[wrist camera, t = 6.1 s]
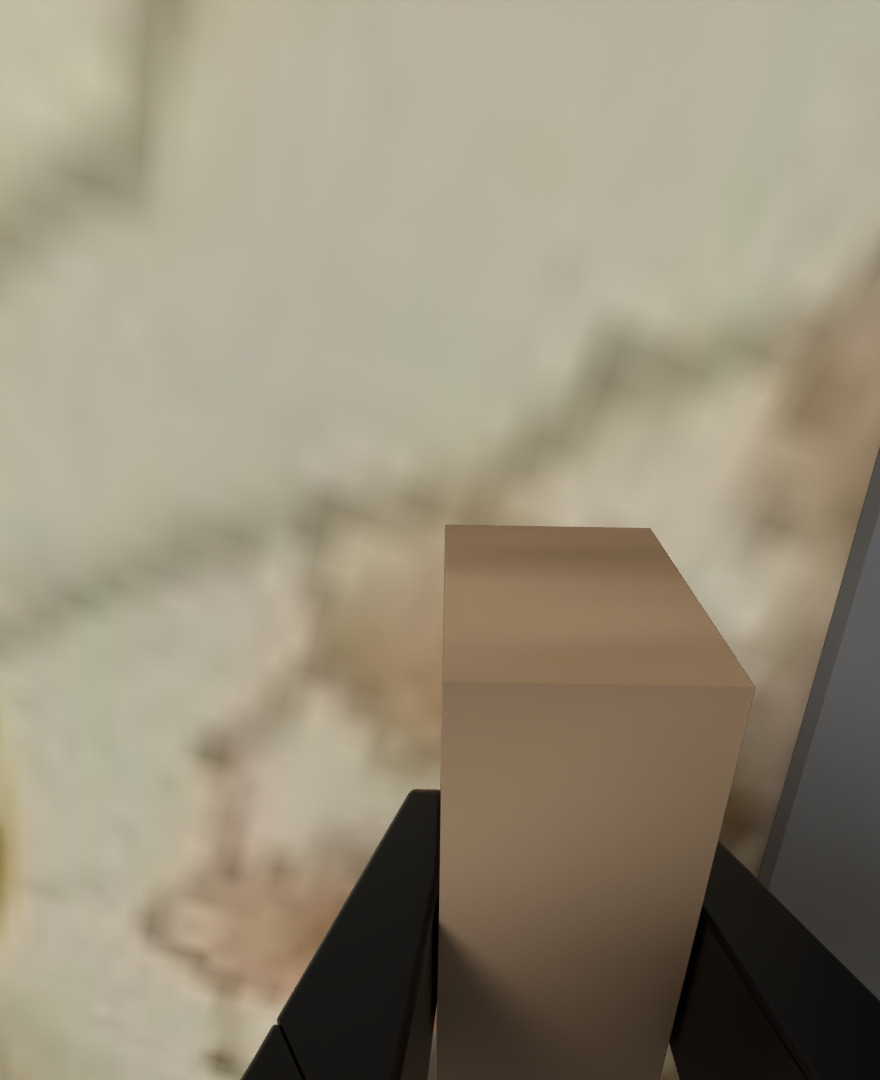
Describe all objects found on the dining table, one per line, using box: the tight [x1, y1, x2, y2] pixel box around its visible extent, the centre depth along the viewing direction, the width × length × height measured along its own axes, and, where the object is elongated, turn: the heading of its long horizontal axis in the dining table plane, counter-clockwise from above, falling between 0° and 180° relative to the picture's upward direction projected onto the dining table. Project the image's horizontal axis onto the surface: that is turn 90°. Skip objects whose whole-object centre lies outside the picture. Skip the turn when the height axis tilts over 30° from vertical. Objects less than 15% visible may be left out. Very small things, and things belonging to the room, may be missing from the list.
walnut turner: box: [427, 525, 755, 1080], centre depth 10 cm, size 14×5×3 cm, turn 179°
